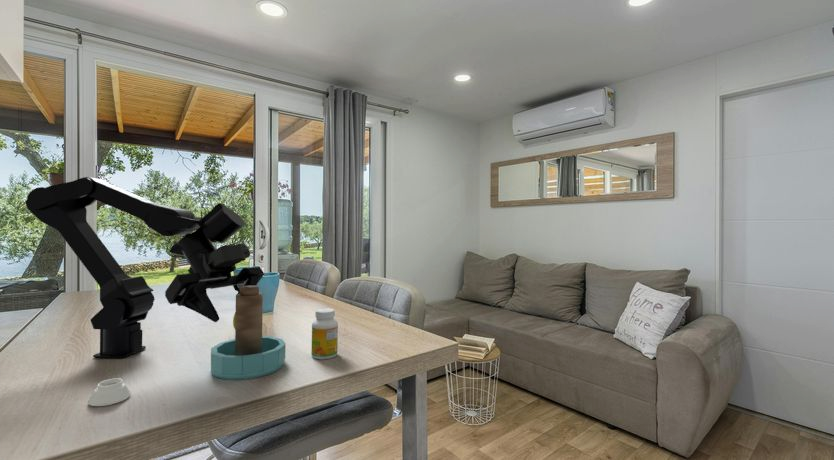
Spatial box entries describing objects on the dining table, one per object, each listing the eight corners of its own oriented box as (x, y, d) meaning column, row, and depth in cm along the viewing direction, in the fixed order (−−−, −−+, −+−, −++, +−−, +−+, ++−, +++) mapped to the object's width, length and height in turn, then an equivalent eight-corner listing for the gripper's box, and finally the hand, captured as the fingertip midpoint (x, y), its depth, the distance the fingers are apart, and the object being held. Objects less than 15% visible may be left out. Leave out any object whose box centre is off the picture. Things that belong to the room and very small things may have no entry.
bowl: (195, 379, 67) (196, 356, 67) (232, 354, 80) (232, 335, 80) (268, 380, 67) (268, 358, 67) (293, 355, 80) (293, 336, 80)
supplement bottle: (306, 355, 80) (307, 310, 80) (328, 349, 84) (328, 306, 84) (320, 362, 76) (321, 314, 76) (342, 355, 80) (343, 310, 80)
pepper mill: (230, 365, 71) (231, 288, 71) (242, 356, 76) (243, 284, 76) (255, 365, 71) (256, 288, 71) (265, 357, 76) (266, 285, 76)
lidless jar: (117, 407, 57) (137, 393, 61) (117, 388, 56) (137, 375, 61) (80, 409, 56) (103, 394, 61) (80, 389, 56) (103, 376, 61)
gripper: (175, 230, 68) (215, 297, 64) (259, 230, 85) (295, 283, 80) (149, 270, 72) (184, 337, 67) (234, 263, 89) (267, 315, 84)
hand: (238, 315), depth 74 cm, fingers open, 9 cm apart
